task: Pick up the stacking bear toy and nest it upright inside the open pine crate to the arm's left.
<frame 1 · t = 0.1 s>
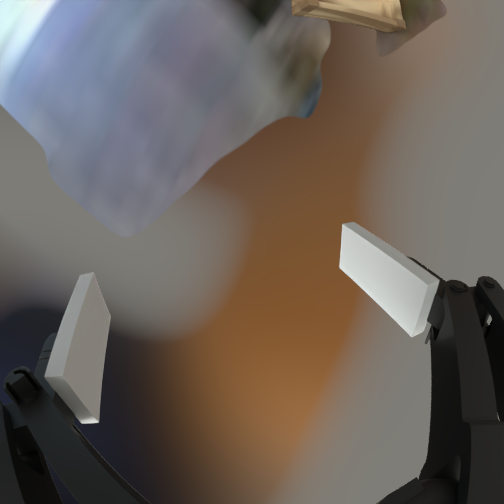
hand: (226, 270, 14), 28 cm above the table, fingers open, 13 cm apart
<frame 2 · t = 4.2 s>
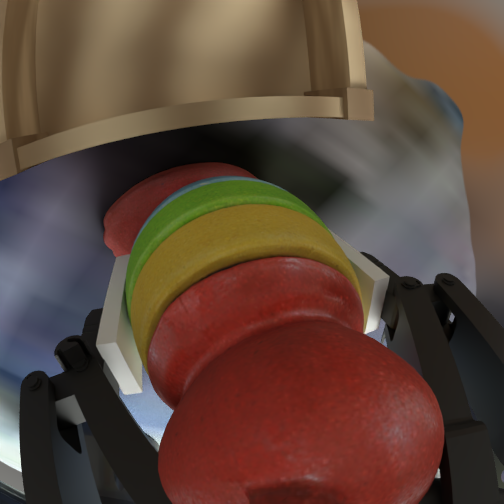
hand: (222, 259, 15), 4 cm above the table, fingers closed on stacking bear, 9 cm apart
stacking bear: (204, 234, 19), on the table, touching gripper
when the fingers open (7 cm above the table, at t = 11.3 s): stacking bear drops 2 cm, resting on crate.
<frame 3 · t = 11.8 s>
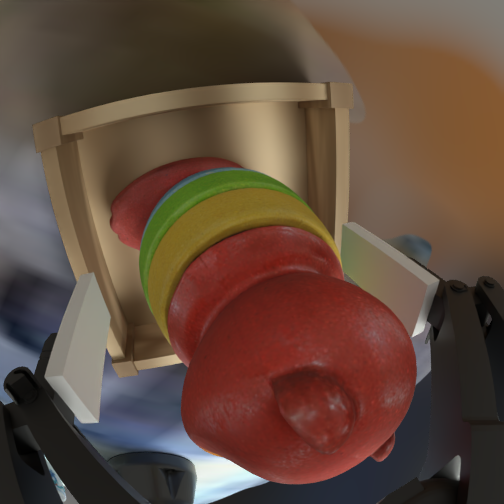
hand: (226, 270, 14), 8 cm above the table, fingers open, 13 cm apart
crate: (204, 217, 22), on the table
chinaware: (27, 448, 28), on the table
stacking bear: (200, 222, 21), point 1 cm above the table, touching crate
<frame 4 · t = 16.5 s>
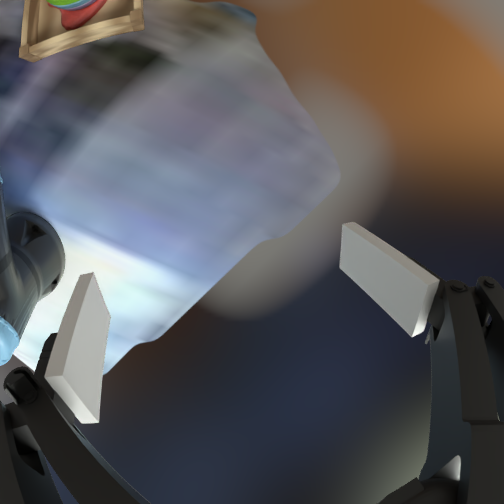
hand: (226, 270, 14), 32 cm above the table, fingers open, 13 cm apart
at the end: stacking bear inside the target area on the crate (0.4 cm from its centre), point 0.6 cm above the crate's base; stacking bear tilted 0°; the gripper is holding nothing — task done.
